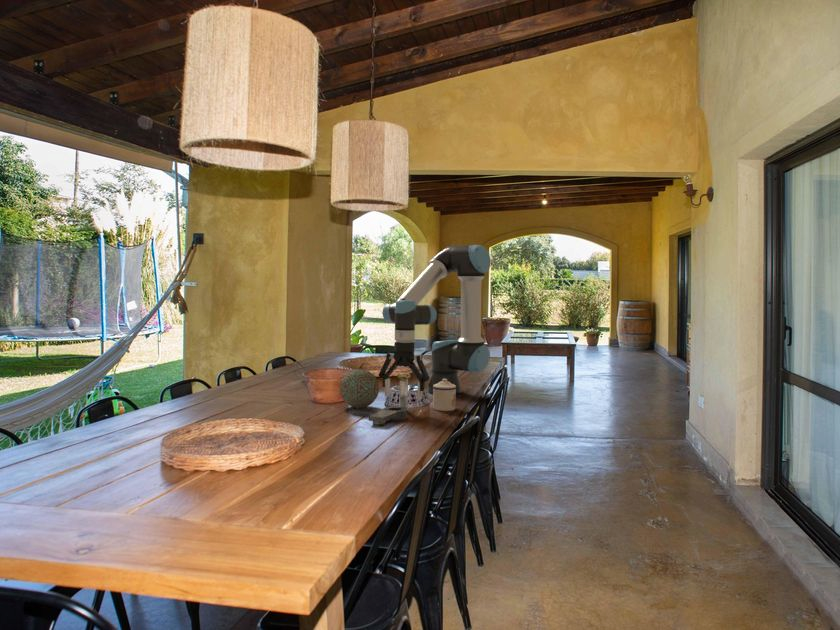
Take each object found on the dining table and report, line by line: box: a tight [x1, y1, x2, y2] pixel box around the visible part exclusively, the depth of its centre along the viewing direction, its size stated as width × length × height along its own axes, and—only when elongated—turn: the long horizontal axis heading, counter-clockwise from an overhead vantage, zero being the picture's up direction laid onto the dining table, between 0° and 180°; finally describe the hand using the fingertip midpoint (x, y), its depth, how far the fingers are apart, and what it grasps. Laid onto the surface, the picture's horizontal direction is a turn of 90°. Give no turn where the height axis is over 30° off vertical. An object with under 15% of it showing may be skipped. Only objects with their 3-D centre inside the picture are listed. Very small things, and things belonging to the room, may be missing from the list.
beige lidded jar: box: [432, 379, 457, 412], centre depth 230 cm, size 12×9×12 cm
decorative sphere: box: [339, 368, 380, 409], centre depth 229 cm, size 15×15×15 cm
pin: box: [397, 372, 411, 411], centre depth 223 cm, size 5×5×14 cm
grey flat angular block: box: [351, 406, 408, 427], centre depth 211 cm, size 18×20×3 cm
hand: (403, 397), depth 223 cm, fingers open, 13 cm apart
